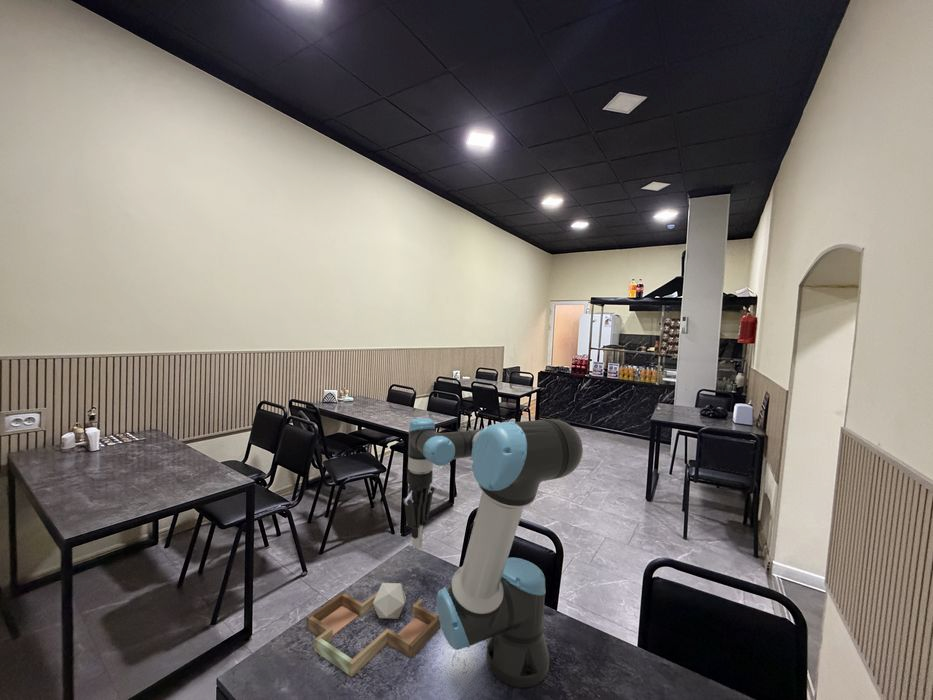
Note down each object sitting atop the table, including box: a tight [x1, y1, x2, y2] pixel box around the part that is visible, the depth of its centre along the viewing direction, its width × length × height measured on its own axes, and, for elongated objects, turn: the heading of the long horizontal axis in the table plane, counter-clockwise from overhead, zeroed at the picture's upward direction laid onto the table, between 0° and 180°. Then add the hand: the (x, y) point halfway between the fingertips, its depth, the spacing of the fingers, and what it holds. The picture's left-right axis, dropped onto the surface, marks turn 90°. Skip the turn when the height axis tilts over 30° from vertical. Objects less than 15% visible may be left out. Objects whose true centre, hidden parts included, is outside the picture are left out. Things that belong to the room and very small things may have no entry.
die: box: [373, 582, 407, 620], centre depth 107 cm, size 8×9×10 cm
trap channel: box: [305, 591, 441, 678], centre depth 101 cm, size 29×26×3 cm
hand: (416, 546), depth 117 cm, fingers closed
